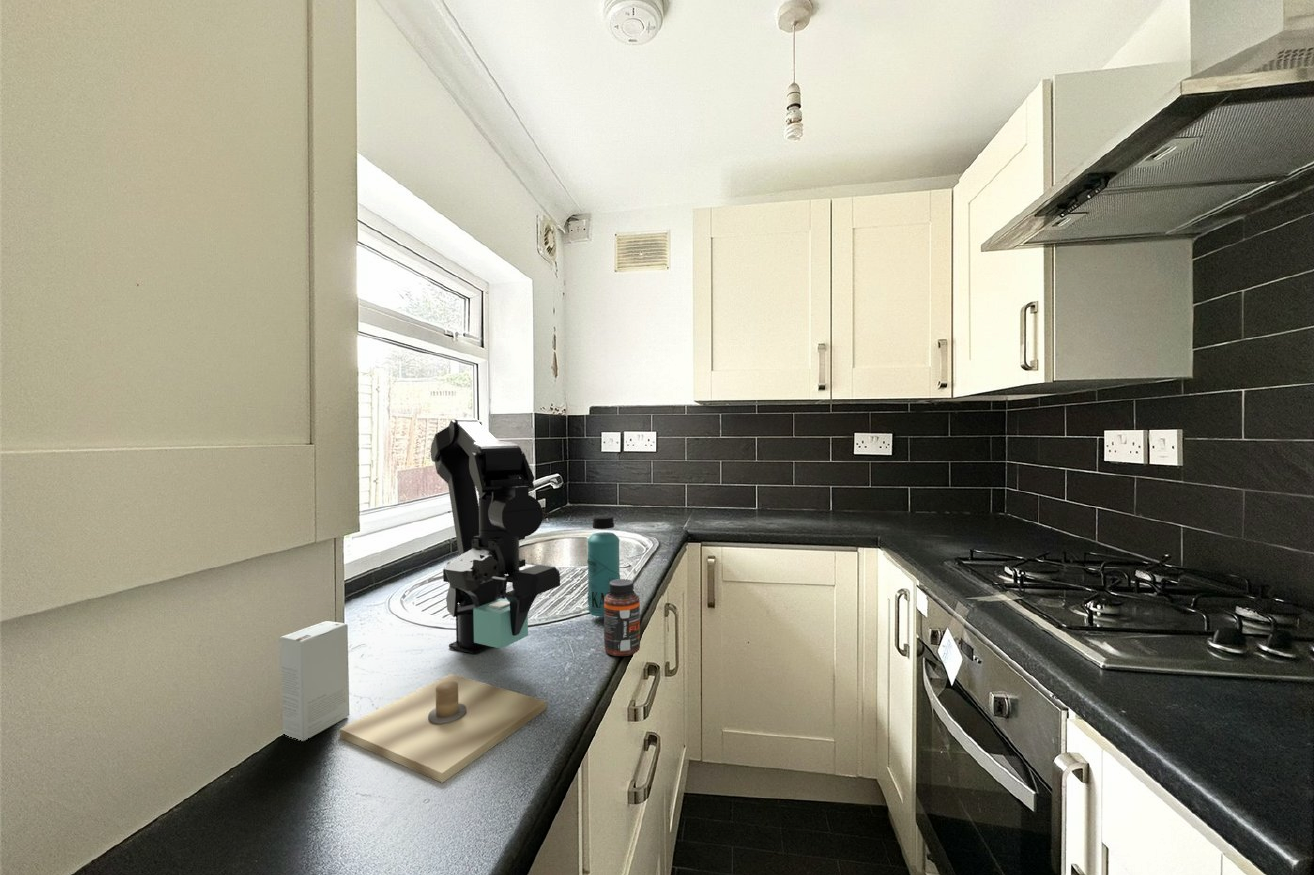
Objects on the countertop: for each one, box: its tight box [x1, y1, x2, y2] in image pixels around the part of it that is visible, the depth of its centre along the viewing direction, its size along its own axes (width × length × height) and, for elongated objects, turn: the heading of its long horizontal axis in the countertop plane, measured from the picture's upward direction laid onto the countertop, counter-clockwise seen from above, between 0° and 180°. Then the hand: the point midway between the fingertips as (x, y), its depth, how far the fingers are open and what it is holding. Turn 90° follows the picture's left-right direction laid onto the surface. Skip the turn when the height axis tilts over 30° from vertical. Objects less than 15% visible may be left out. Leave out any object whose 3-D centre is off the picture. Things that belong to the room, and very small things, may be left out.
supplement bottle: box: [603, 578, 641, 657], centre depth 84 cm, size 6×6×11 cm
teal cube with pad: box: [473, 598, 529, 650], centre depth 77 cm, size 6×6×5 cm
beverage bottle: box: [586, 515, 621, 618], centre depth 99 cm, size 6×7×20 cm
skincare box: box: [278, 620, 350, 742], centre depth 63 cm, size 6×4×12 cm
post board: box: [339, 673, 547, 784], centre depth 64 cm, size 18×16×4 cm
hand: (501, 631), depth 77 cm, fingers closed on teal cube with pad, 5 cm apart
